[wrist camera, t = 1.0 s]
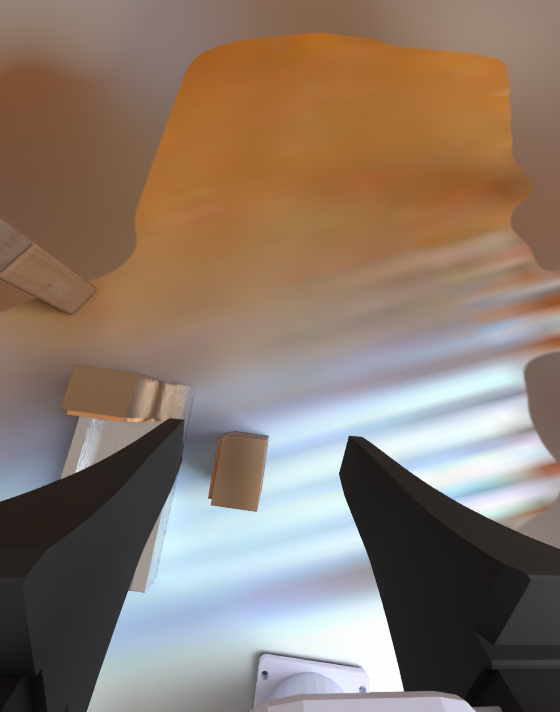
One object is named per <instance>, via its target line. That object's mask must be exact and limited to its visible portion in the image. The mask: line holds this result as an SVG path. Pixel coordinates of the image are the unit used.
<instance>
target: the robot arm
mask: <svg viewBox="0 0 560 712" xmlns="http://www.w3.org/2000/svg"><path fill="white" fill-rule="evenodd" d="M183 435H184V419H174V418H169V419H167V420H166V421H164V422H163V423H161V424H160V425H158V426H157V427H155V428H154V429H152V430H151V431H149V432H148V433H146V434H145V435H143V436H142V437H140V438H139V439H137V440H136V441H134V442H133V443H131V444H129V445H127V446H126V447H124V448H122V449H121V450H119V451H117V452H116V453H114V454H112V455H111V456H109V457H107V458H105V459H103V460H101V461H99V462H97V463H95V464H93V465H91V466H89V467H87V468H85V469H83V470H81V471H79V472H76V473H74V474H72V475H69V476H67V477H65V478H62V479H60V480H57V481H55V482H53V483H50V484H48V485H45V486H43V487H41V488H38V489H35V490H32V491H30V492H27V493H24V494H21V495H19V496H16V497H13V498H10V499H7V500H4V501H1V502H0V712H87V709H88V706H89V703H90V700H91V697H92V694H93V691H94V688H95V685H96V682H97V679H98V676H99V673H100V670H101V667H102V664H103V661H104V658H105V655H106V652H107V649H108V646H109V643H110V641H111V638H112V635H113V632H114V629H115V626H116V623H117V620H118V617H119V615H120V612H121V609H122V606H123V604H124V601H125V598H126V595H127V592H128V590H129V587H130V584H131V581H132V579H133V576H134V573H135V571H136V568H137V565H138V563H139V560H140V557H141V555H142V552H143V550H144V547H145V545H146V543H147V540H148V538H149V536H150V534H151V532H152V530H153V528H154V526H155V523H156V521H157V519H158V517H159V515H160V513H161V511H162V509H163V507H164V505H165V502H166V500H167V498H168V496H169V494H170V492H171V490H172V488H173V485H174V483H175V480H176V477H177V474H178V471H179V468H180V465H181V462H182V450H183ZM339 475H340V480H341V484H342V488H343V492H344V495H345V498H346V501H347V503H348V506H349V509H350V511H351V514H352V516H353V519H354V521H355V524H356V526H357V529H358V531H359V534H360V536H361V539H362V541H363V544H364V546H365V549H366V551H367V554H368V557H369V560H370V563H371V566H372V569H373V573H374V576H375V579H376V583H377V586H378V589H379V593H380V597H381V600H382V604H383V608H384V611H385V615H386V618H387V622H388V626H389V630H390V634H391V638H392V642H393V646H394V650H395V654H396V658H397V662H398V666H399V670H400V675H401V679H402V684H403V688H404V692H369V688H370V680H369V676H368V674H367V672H366V671H365V670H364V669H362V668H355V667H349V666H342V665H336V664H329V663H323V662H316V661H310V660H303V659H297V658H290V657H284V656H277V655H271V654H264V655H262V656H261V657H260V660H259V666H258V674H257V682H256V691H255V699H254V708H253V709H252V710H250V711H248V712H560V549H558V548H555V547H553V546H550V545H548V544H545V543H543V542H540V541H538V540H535V539H533V538H530V537H528V536H525V535H523V534H521V533H519V532H517V531H514V530H512V529H510V528H508V527H505V526H503V525H501V524H499V523H497V522H495V521H493V520H491V519H489V518H487V517H485V516H483V515H481V514H479V513H477V512H475V511H473V510H471V509H469V508H467V507H465V506H463V505H462V504H460V503H458V502H456V501H455V500H453V499H451V498H449V497H448V496H446V495H444V494H443V493H441V492H439V491H438V490H436V489H434V488H433V487H431V486H430V485H428V484H427V483H425V482H424V481H422V480H421V479H419V478H418V477H416V476H415V475H414V474H412V473H411V472H409V471H408V470H406V469H405V468H404V467H402V466H401V465H400V464H398V463H397V462H396V461H394V460H393V459H392V458H390V457H389V456H388V455H386V454H385V453H384V452H382V451H381V450H380V449H378V448H377V447H376V446H374V445H373V444H372V443H370V442H369V441H367V440H366V439H364V438H363V437H357V436H349V438H348V442H347V445H346V449H345V453H344V457H343V461H342V464H341V468H340V472H339ZM263 671H267V674H266V675H263V674H262V672H263ZM361 686H364V688H363V689H362V690H360V689H359V688H360V687H361Z"/></svg>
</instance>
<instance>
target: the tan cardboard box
mask: <svg viewBox="0 0 560 712" xmlns="http://www.w3.org/2000/svg"><path fill="white" fill-rule="evenodd" d="M268 438H269V436H266V435H258V434H251V433H243V432H236V431H235V432H231V433H228V434H224V435H223V437H222V438H219V440H218V445H217V451H216V457H215V462H214V468H213V473H212V479H211V484H210V490H209V496H208V498H209V499H212V501H211V505H212V506H219V507H227V508H234V509H241V510H248V511H255V512H257V508H258V504H259V499H260V495H261V490H262V483H263V475H264V468H265V461H266V453H267V446H268Z"/></svg>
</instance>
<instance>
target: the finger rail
mask: <svg viewBox="0 0 560 712" xmlns="http://www.w3.org/2000/svg"><path fill="white" fill-rule="evenodd" d="M194 393H195V388H193V387H191V386H187V385H180V384H177V385H174V384H168V383H165V382H162V381H159V380H157V379H154V378H151V377H148V376H145V375H142V374H139V373H133V372H126V371H118V370H111V369H103V368H96V367H88V366H80V365H74V368H73V371H72V374H71V377H70V380H69V383H68V386H67V389H66V392H65V395H64V398H63V401H62V404H61V407H60V409H64V410H68V411H67V414H68V415H75V416H80V417H79V420H78V423H77V427H76V430H75V433H74V436H73V440H72V443H71V446H70V449H69V453H68V456H67V459H66V462H65V466H64V469H63V472H62V475H61V479H62V478H65V477H67V476H69V475H72V474H74V473H76V472H79V471H81V470H83V469H85V468H87V467H89V466H91V465H93V464H95V463H97V462H99V461H101V460H103V459H105V458H107V457H109V456H111V455H112V454H114V453H116V452H117V451H119V450H121V449H122V448H124V447H126V446H127V445H129V444H131V443H133V442H134V441H136V440H137V439H139V438H140V437H142V436H143V435H145V434H146V433H148V432H149V431H151V430H152V429H154V428H155V427H157V426H158V425H160V424H161V423H163V422H164V421H166V420H167V419H169V418H174V419H184V435H183V445H184V440H185V436H186V431H187V426H188V421H189V416H190V412H191V407H192V402H193V397H194ZM176 479H177V477H176ZM175 483H176V480H175ZM175 483H174V485H173V488H172V490H171V492H170V494H169V496H168V498H167V500H166V502H165V505H164V507H163V509H162V511H161V513H160V515H159V517H158V519H157V521H156V523H155V526H154V528H153V530H152V532H151V534H150V536H149V538H148V540H147V543H146V545H145V547H144V550H143V552H142V555H141V557H140V560H139V563H138V565H137V568H136V571H135V573H134V576H133V579H132V581H131V584H130V587H129V590H130V591H136V592H143V593H145V591H146V590H147V589H148V587H149V586H150V585H151V584H152V582H153V581H154V580H155V578H156V574H157V570H158V565H159V560H160V555H161V551H162V546H163V541H164V536H165V531H166V527H167V522H168V517H169V512H170V507H171V503H172V498H173V493H174V488H175Z"/></svg>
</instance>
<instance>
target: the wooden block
mask: <svg viewBox="0 0 560 712" xmlns="http://www.w3.org/2000/svg"><path fill="white" fill-rule="evenodd" d="M0 279H1V280H3V281H5V282H7V283H9V284H11V285H13V286H15V287H17V288H19V289H21V290H22V291H24V292H26V293H28V294H30V295H32V296H34V297H36V298H38V299H40V300H42V301H44V302H46V303H48V304H50V305H52V306H54V307H56V308H58V309H60V310H62V311H64V312H65V313H67V314H73V313H75V312H76V311H77V310H78V309H79V308H80V307H81V306H82V305H83V304H84V303H85V302H86V301H87V300H88V299H89V298H90V297H91V296H92V295H93V294H94V293H95V292H96V289H95V287H94V286H93V285H92V284H90V283H89V282H88V281H86V280H85V279H84V278H82V277H81V276H80V275H79V274H77V273H76V272H75V271H73V270H72V269H71V268H69V267H68V266H66V265H65V264H64V263H62V262H61V261H60V260H58V258H56V257H55V256H54V255H52V254H51V253H50V252H48V251H47V250H46V249H45V248H43V247H42V246H41V245H39V244H38V243H37V242H35V241H34V240H33V239H31V238H30V237H29V236H27V235H26V234H25V233H23V232H22V231H21V230H19V229H18V228H17V227H15V226H14V225H13V224H11V223H10V222H9V221H7V220H6V219H5V218H3V217H2V215H0Z"/></svg>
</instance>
